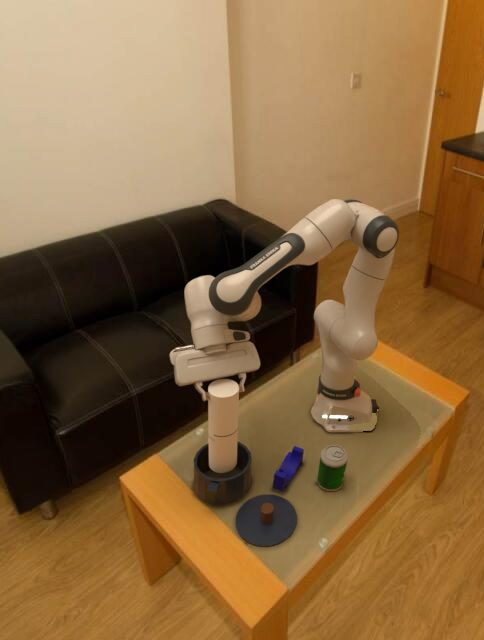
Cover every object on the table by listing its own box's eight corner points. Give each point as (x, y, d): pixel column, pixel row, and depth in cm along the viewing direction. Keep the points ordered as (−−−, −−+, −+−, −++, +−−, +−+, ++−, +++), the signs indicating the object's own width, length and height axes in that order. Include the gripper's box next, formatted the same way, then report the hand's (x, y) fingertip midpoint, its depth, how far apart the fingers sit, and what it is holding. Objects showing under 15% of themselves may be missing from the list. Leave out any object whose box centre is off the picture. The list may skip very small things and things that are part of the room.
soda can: (339, 496, 137) (345, 465, 131) (313, 490, 138) (317, 459, 132) (345, 476, 144) (350, 446, 138) (320, 470, 144) (324, 440, 138)
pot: (257, 460, 144) (258, 436, 139) (240, 518, 126) (241, 492, 122) (207, 454, 143) (206, 429, 138) (182, 511, 126) (181, 485, 121)
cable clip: (288, 458, 146) (289, 443, 143) (302, 464, 145) (303, 449, 142) (268, 487, 136) (269, 472, 133) (282, 493, 135) (284, 478, 132)
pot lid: (300, 500, 134) (302, 487, 131) (291, 551, 120) (293, 538, 118) (243, 493, 133) (244, 480, 131) (228, 544, 120) (228, 530, 117)
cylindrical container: (229, 475, 127) (231, 400, 115) (203, 468, 128) (202, 393, 116) (241, 456, 134) (243, 383, 121) (216, 449, 134) (216, 376, 122)
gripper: (169, 345, 113) (181, 404, 111) (255, 331, 124) (267, 385, 122) (166, 351, 119) (177, 408, 117) (248, 337, 129) (260, 388, 127)
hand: (224, 396), depth 119 cm, fingers closed on cylindrical container, 7 cm apart
